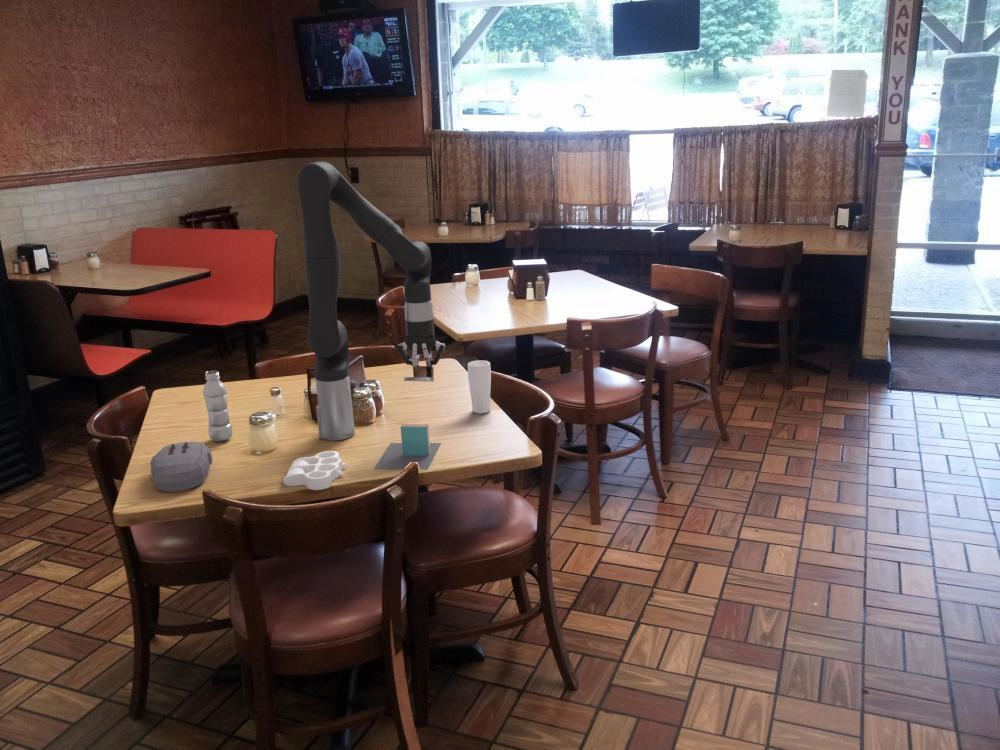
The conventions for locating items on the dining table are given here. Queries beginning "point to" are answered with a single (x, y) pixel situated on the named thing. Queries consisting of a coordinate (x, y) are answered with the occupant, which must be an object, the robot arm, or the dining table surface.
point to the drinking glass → (480, 385)
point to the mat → (405, 457)
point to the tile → (415, 439)
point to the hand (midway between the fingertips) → (423, 378)
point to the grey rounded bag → (180, 466)
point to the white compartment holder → (315, 470)
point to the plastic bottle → (217, 407)
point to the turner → (421, 375)
